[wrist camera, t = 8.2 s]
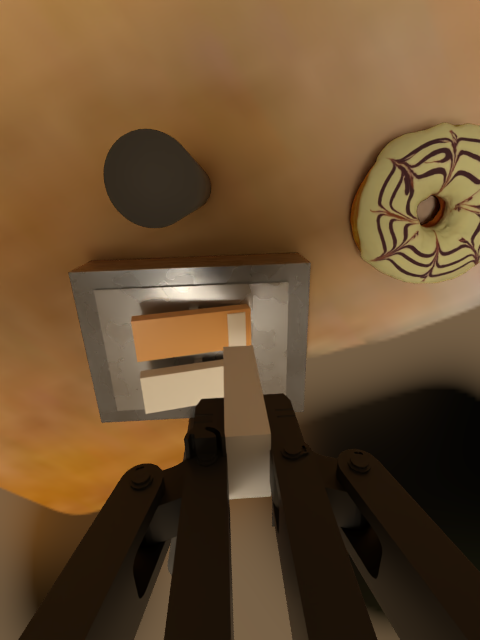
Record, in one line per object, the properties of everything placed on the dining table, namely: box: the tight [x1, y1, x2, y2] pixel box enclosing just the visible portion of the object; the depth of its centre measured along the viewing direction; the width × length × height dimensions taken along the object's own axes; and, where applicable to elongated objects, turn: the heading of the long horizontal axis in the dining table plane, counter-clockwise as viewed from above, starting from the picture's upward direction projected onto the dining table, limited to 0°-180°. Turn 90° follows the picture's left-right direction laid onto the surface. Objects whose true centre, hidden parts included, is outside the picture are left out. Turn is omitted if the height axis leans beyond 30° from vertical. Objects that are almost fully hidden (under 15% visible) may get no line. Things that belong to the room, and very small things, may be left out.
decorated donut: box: [350, 123, 480, 284], centre depth 24 cm, size 10×11×4 cm
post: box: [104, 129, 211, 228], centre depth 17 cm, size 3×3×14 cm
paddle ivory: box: [140, 359, 224, 414], centre depth 23 cm, size 8×3×1 cm, turn 92°
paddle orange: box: [131, 304, 251, 362], centre depth 22 cm, size 8×3×1 cm, turn 92°
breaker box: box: [69, 253, 311, 423], centre depth 26 cm, size 16×12×5 cm
